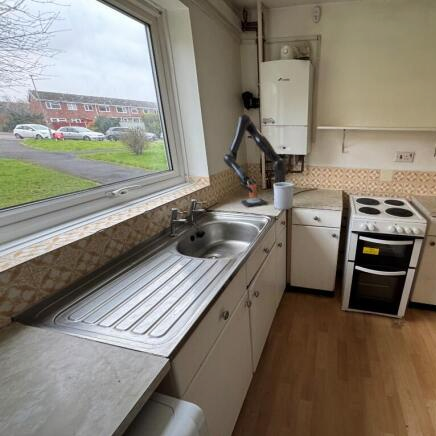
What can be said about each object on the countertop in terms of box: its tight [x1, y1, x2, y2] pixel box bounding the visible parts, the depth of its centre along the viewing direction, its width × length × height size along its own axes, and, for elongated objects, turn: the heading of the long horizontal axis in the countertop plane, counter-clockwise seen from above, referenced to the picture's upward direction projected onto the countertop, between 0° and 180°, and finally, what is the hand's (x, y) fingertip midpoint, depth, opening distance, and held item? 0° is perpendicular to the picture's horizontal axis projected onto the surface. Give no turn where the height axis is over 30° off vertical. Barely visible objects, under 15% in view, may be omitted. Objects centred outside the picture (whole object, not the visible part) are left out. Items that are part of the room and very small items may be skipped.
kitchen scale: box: [241, 197, 268, 208], centre depth 184 cm, size 16×14×3 cm
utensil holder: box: [272, 181, 294, 211], centre depth 172 cm, size 15×15×18 cm
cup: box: [248, 183, 258, 199], centre depth 181 cm, size 6×6×10 cm
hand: (254, 191), depth 181 cm, fingers closed on cup, 6 cm apart
